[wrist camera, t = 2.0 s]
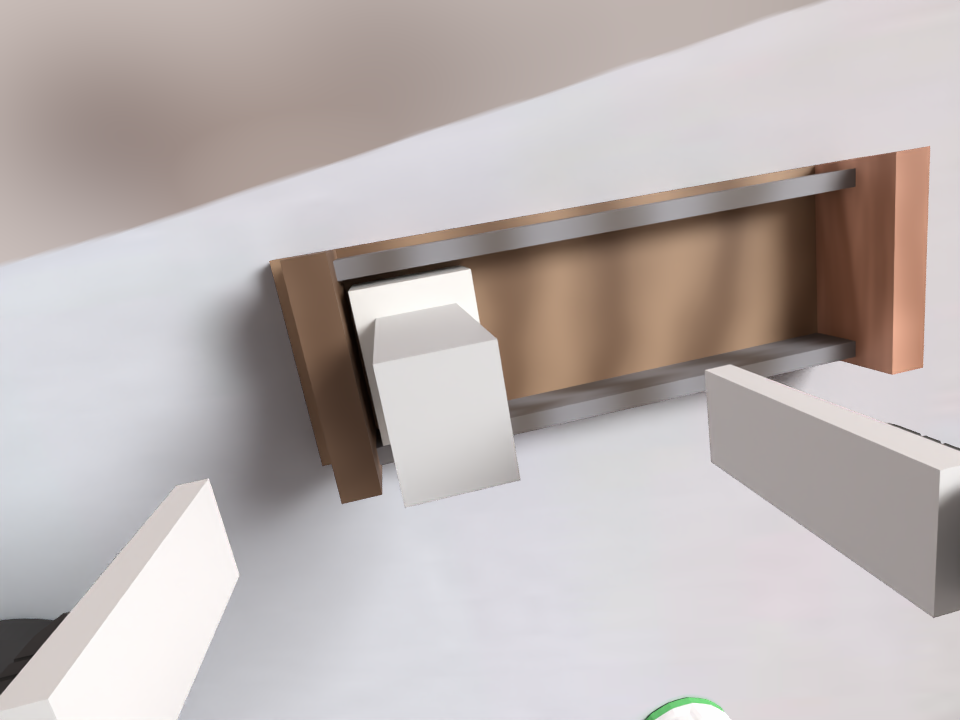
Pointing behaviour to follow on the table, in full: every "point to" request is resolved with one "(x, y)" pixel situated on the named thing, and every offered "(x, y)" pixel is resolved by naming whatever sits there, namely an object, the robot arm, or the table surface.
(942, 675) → the table surface
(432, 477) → the block
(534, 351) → the track
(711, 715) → the cup
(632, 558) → the table surface
